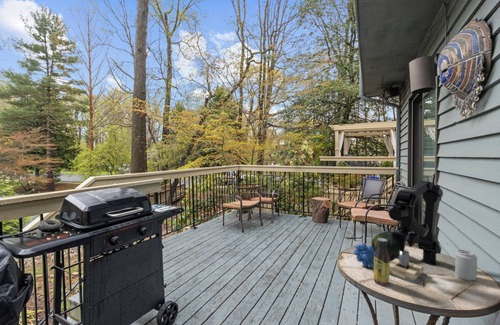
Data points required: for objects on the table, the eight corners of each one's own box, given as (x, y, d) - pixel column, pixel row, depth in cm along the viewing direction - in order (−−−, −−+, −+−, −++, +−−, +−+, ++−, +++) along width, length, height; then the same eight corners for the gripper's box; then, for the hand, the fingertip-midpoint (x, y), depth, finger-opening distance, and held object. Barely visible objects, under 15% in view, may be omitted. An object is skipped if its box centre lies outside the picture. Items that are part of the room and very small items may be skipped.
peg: (401, 269, 121) (401, 249, 121) (410, 272, 118) (410, 251, 118) (397, 271, 119) (397, 251, 119) (406, 274, 116) (407, 253, 115)
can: (471, 274, 117) (472, 249, 116) (480, 282, 110) (480, 256, 109) (452, 272, 119) (452, 248, 119) (459, 280, 112) (460, 254, 112)
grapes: (352, 267, 127) (352, 244, 126) (354, 262, 132) (354, 239, 132) (378, 272, 120) (378, 248, 120) (379, 267, 126) (379, 243, 126)
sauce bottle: (370, 279, 114) (370, 236, 114) (383, 278, 115) (383, 236, 114) (379, 287, 108) (379, 242, 107) (392, 286, 108) (393, 241, 108)
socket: (392, 264, 128) (392, 257, 128) (426, 276, 116) (426, 267, 116) (381, 272, 121) (381, 264, 121) (416, 284, 109) (416, 275, 109)
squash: (365, 239, 150) (374, 226, 140) (391, 240, 150) (401, 227, 139) (373, 262, 140) (382, 250, 130) (400, 263, 139) (412, 251, 129)
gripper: (418, 224, 106) (418, 260, 106) (433, 216, 117) (433, 249, 118) (390, 219, 115) (390, 252, 115) (407, 212, 126) (407, 242, 127)
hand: (406, 249), depth 118 cm, fingers open, 9 cm apart
